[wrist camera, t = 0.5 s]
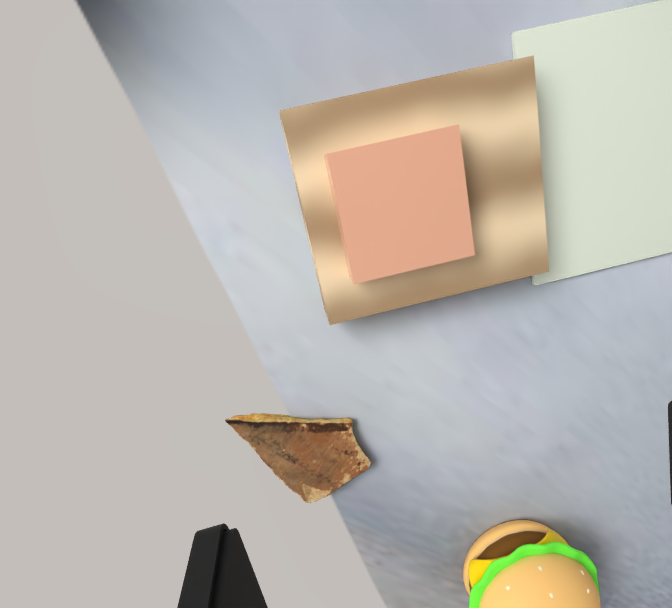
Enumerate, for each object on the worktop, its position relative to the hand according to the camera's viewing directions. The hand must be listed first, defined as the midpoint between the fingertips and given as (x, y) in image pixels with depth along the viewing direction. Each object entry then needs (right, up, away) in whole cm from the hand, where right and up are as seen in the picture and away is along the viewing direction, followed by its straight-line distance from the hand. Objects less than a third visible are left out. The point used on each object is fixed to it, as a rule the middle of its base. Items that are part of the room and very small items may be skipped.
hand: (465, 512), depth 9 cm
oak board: (+3, +12, +24) cm, 27 cm away
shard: (-6, -8, +29) cm, 31 cm away
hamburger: (+14, -20, +35) cm, 43 cm away
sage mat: (+18, +16, +25) cm, 34 cm away
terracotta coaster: (+1, +11, +20) cm, 23 cm away
